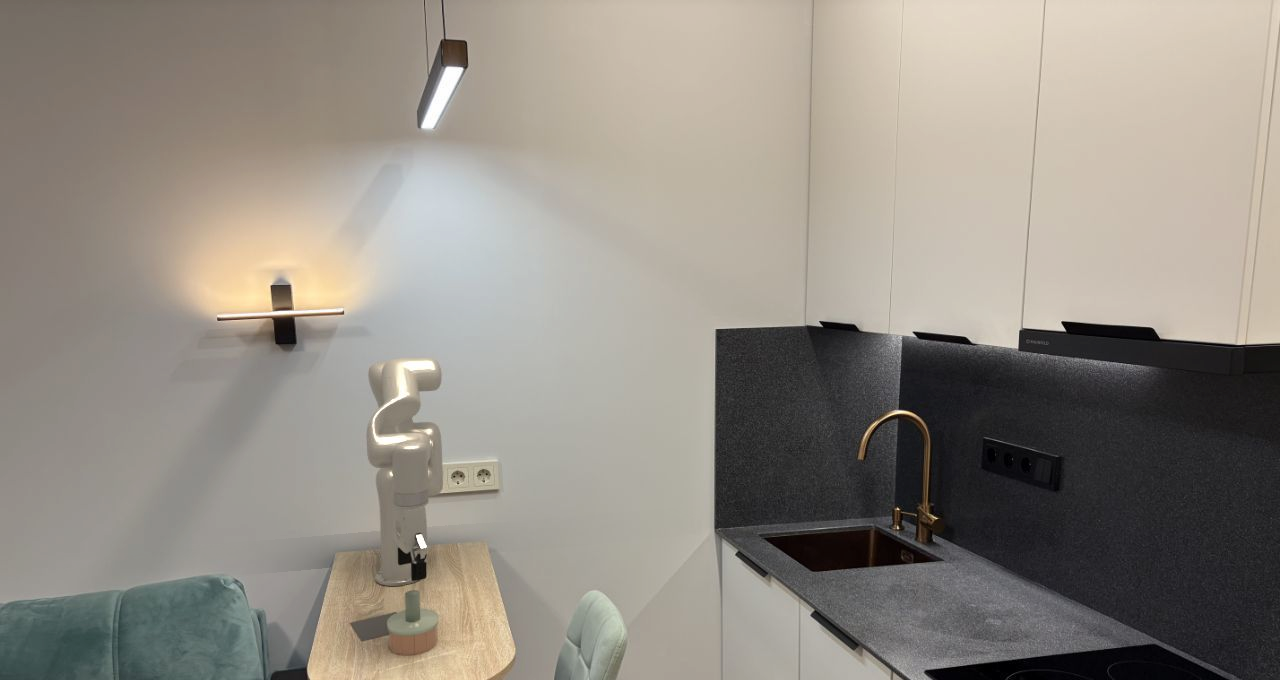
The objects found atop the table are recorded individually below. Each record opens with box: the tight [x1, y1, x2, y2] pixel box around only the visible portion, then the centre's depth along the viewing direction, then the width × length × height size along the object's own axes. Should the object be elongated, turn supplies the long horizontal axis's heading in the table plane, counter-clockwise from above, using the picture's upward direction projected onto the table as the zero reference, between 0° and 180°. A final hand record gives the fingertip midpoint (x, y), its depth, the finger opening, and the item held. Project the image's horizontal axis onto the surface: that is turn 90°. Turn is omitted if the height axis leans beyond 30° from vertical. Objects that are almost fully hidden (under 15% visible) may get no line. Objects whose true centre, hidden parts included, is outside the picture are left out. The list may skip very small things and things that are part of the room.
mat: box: [349, 611, 398, 642], centre depth 181 cm, size 11×11×1 cm
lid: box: [387, 589, 439, 636], centre depth 172 cm, size 11×11×7 cm
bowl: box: [388, 625, 438, 656], centre depth 173 cm, size 10×10×5 cm
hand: (412, 571), depth 172 cm, fingers open, 9 cm apart
